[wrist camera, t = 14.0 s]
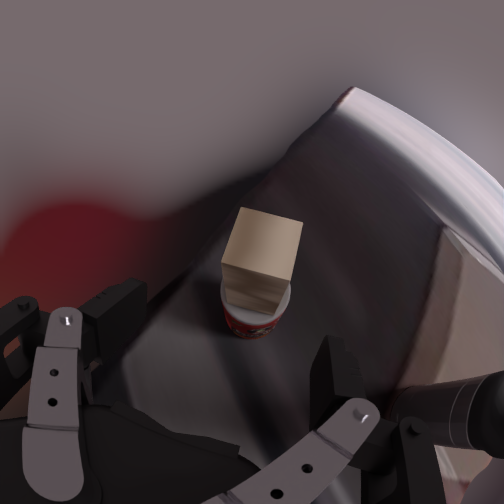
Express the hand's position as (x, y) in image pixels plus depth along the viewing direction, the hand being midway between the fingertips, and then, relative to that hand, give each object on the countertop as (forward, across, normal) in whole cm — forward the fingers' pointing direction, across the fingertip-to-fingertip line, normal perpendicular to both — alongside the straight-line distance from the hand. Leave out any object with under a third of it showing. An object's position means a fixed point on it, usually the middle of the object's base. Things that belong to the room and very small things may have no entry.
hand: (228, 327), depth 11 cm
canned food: (+25, 0, +14) cm, 28 cm away
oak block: (+17, 0, +6) cm, 18 cm away
